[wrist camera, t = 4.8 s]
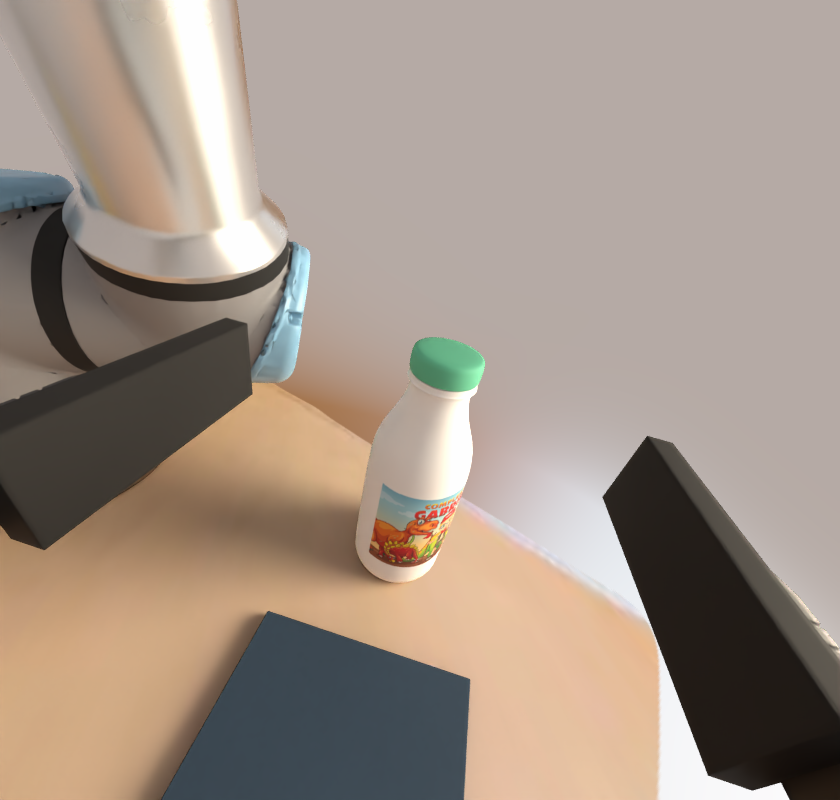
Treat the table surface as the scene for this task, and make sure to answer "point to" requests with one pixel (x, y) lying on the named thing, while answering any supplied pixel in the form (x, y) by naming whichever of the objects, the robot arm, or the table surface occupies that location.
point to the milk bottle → (419, 463)
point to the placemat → (328, 724)
